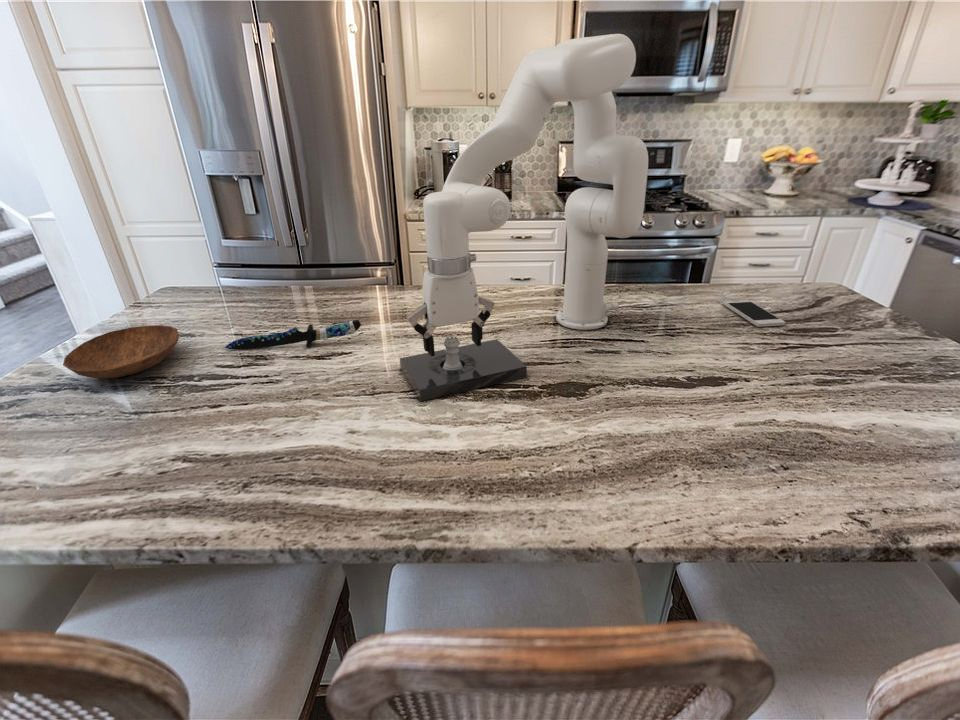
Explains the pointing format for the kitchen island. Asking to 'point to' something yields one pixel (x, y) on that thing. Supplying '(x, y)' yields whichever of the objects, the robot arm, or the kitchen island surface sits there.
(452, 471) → the kitchen island surface
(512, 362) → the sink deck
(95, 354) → the bowl
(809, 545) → the kitchen island surface
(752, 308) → the smartphone
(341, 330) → the knife
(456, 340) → the rook chess piece
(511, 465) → the kitchen island surface
